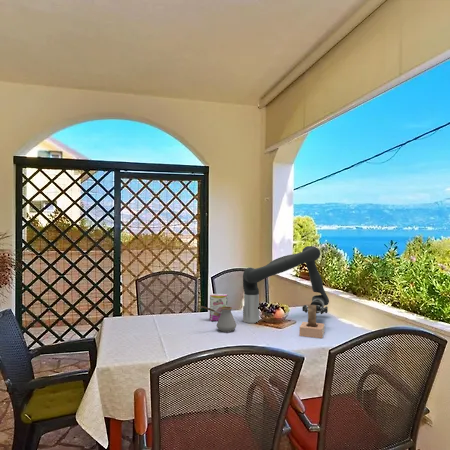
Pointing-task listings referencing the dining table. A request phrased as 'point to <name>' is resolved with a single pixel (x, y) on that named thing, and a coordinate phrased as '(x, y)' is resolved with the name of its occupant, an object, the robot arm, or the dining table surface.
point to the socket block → (311, 330)
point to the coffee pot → (224, 319)
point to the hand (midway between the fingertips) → (313, 311)
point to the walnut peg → (311, 315)
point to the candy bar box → (217, 305)
